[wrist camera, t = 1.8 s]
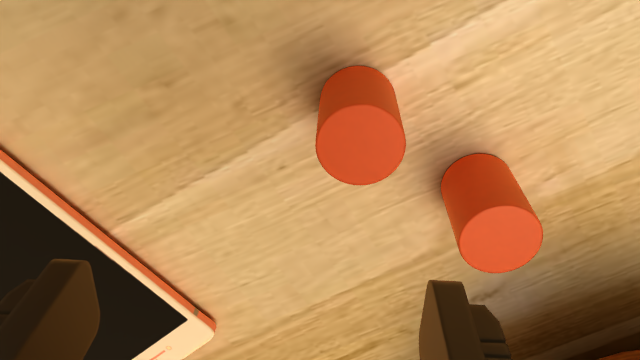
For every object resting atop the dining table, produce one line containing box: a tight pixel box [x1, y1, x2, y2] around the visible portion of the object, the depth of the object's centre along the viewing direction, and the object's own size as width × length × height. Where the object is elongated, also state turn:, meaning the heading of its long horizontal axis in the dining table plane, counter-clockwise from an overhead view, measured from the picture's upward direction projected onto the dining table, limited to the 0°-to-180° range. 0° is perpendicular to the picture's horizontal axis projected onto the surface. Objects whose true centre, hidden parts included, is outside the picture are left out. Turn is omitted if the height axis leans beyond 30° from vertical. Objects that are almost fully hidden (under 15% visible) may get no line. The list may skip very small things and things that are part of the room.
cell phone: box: [0, 150, 216, 360], centre depth 31 cm, size 9×18×1 cm, turn 41°
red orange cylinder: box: [315, 66, 406, 185], centre depth 24 cm, size 4×4×5 cm
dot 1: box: [441, 154, 543, 273], centre depth 26 cm, size 4×4×5 cm
